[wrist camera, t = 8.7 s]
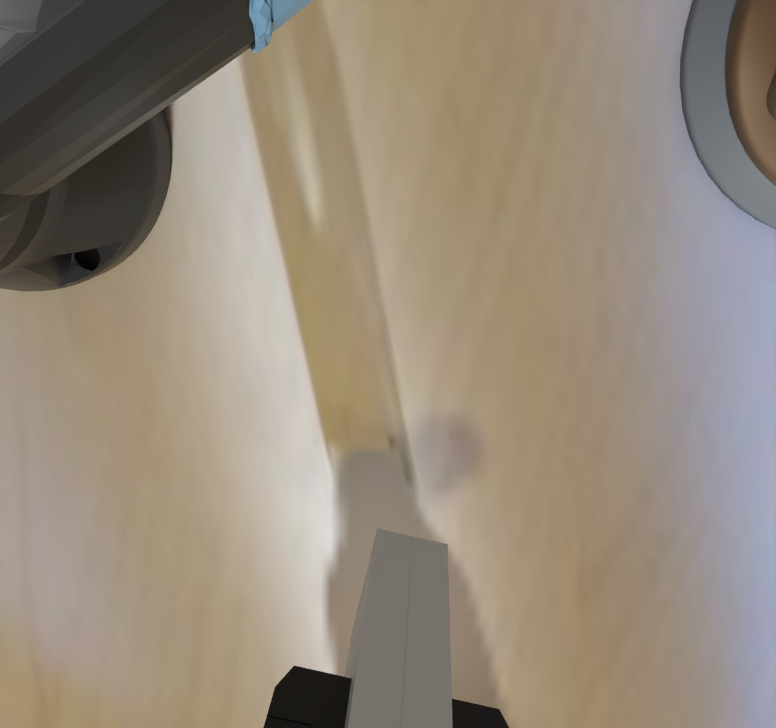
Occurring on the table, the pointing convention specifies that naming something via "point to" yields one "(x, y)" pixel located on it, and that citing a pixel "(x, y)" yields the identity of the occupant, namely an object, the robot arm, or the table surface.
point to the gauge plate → (718, 111)
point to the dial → (753, 81)
